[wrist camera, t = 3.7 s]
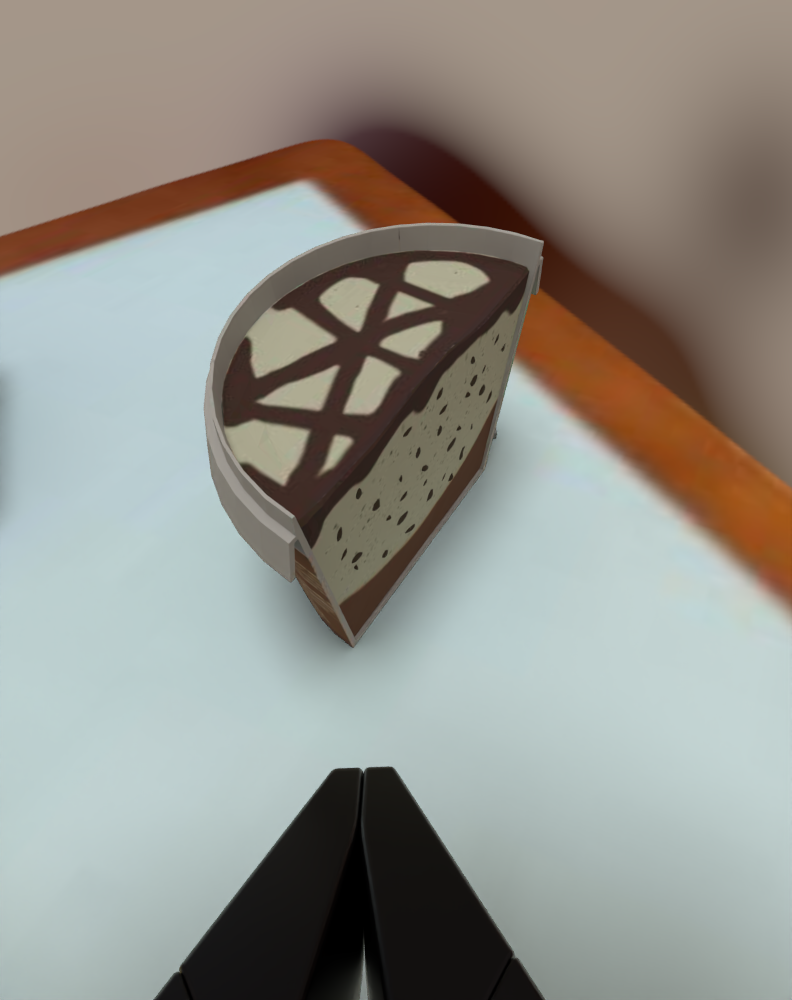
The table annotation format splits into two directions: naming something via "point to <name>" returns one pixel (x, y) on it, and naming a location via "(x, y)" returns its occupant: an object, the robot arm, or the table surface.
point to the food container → (364, 402)
